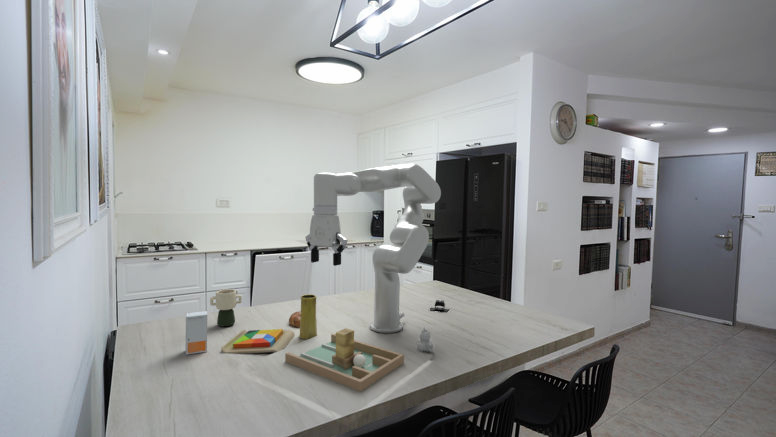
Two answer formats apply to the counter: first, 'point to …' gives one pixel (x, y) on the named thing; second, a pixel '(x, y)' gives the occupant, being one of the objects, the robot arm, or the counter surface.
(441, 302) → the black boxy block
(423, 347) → the grey figurine
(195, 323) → the skincare box
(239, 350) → the wooden puzzle
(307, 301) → the vase
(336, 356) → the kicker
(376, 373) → the pitch
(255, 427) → the counter surface
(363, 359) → the ball
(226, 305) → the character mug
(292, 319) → the sesame bagel
